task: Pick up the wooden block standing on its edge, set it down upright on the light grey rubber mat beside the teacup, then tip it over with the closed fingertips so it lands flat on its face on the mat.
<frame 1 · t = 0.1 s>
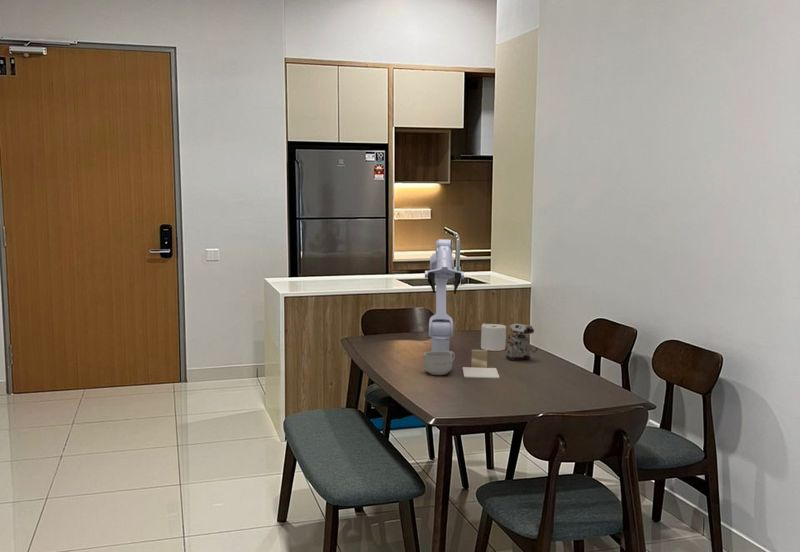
hand: (444, 291, 281), 32 cm above the table, tool tilted 50°, fingers open, 7 cm apart
toilet tissue: (491, 348, 335), on the table
wooden block: (478, 367, 300), on the table
figurine: (520, 360, 314), on the table
mat: (480, 373, 292), on the table
teacup: (441, 373, 291), on the table
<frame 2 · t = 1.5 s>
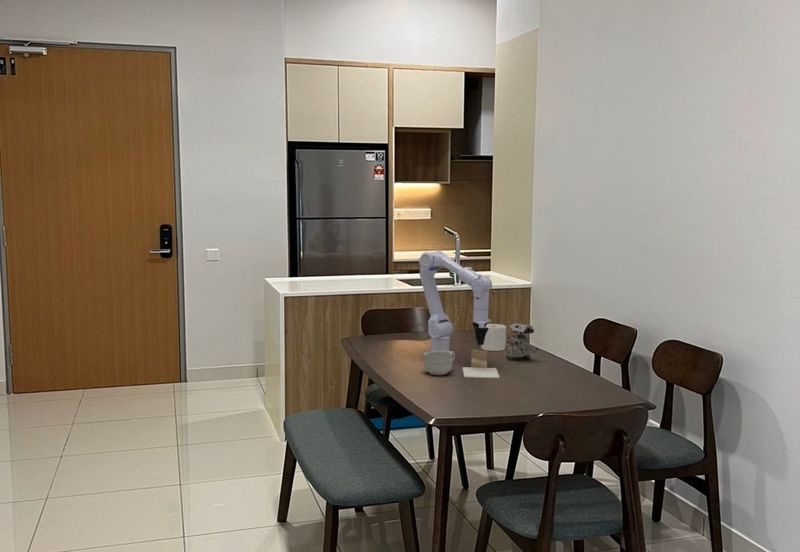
hand: (479, 342, 299), 10 cm above the table, tool pointing down, fingers open, 7 cm apart
nothing on the table moved.
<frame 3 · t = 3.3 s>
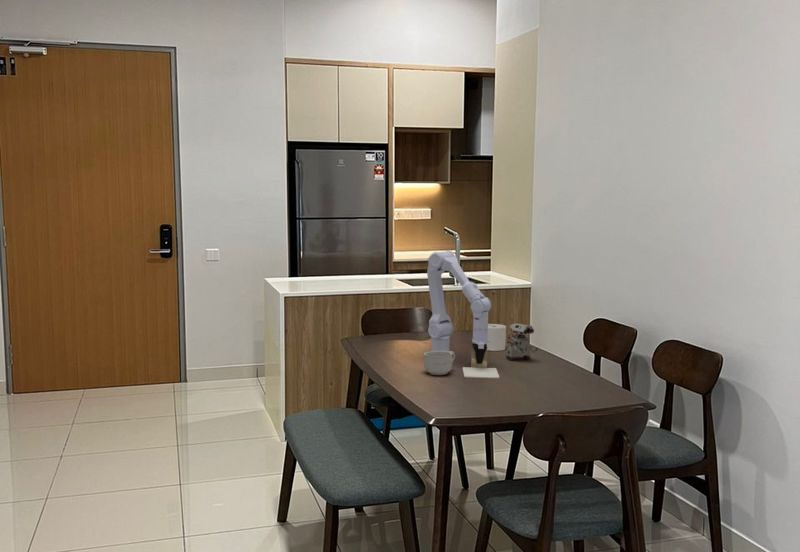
hand: (479, 362, 300), 2 cm above the table, tool pointing down, fingers closed on wooden block, 2 cm apart
wooden block: (478, 367, 300), on the table, touching gripper
everything else where it was.
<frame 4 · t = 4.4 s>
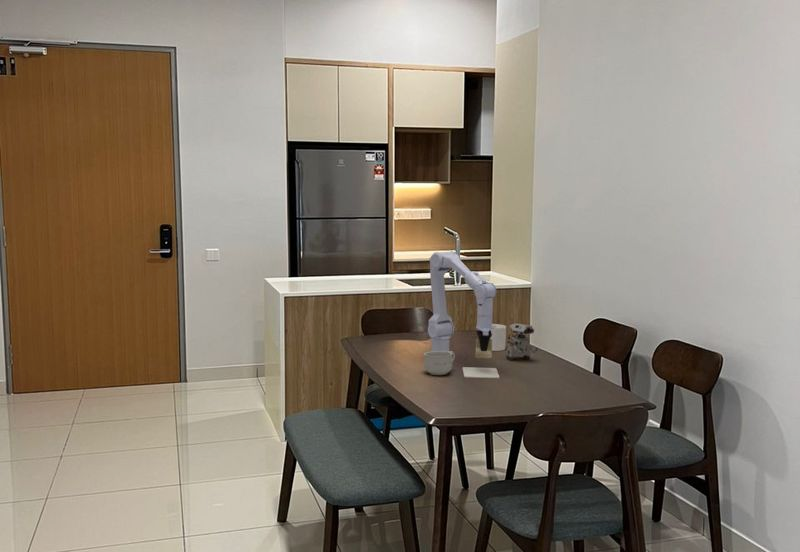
hand: (483, 350, 293), 8 cm above the table, tool pointing down, fingers closed on wooden block
wooden block: (483, 357, 293), point 6 cm above the table, touching gripper
everything else where it was.
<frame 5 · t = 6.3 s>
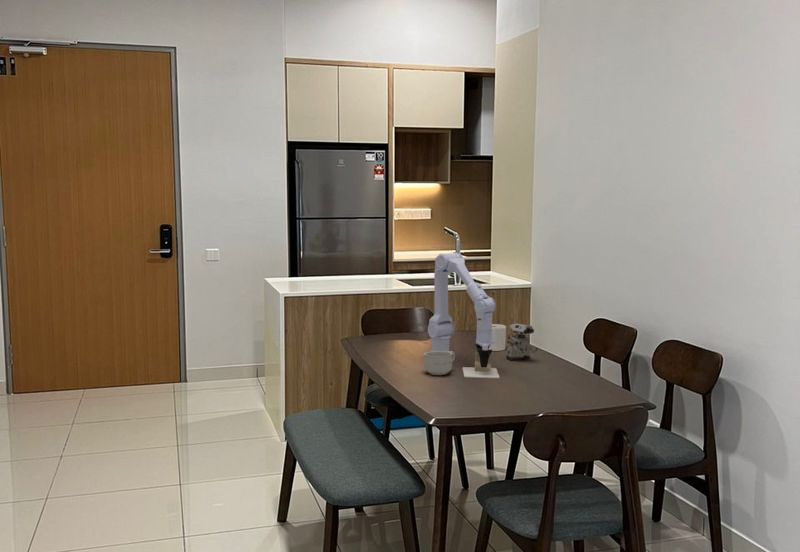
hand: (483, 364, 293), 3 cm above the table, tool pointing down, fingers open, 7 cm apart
wooden block: (482, 370, 294), resting on mat
everything else where it was.
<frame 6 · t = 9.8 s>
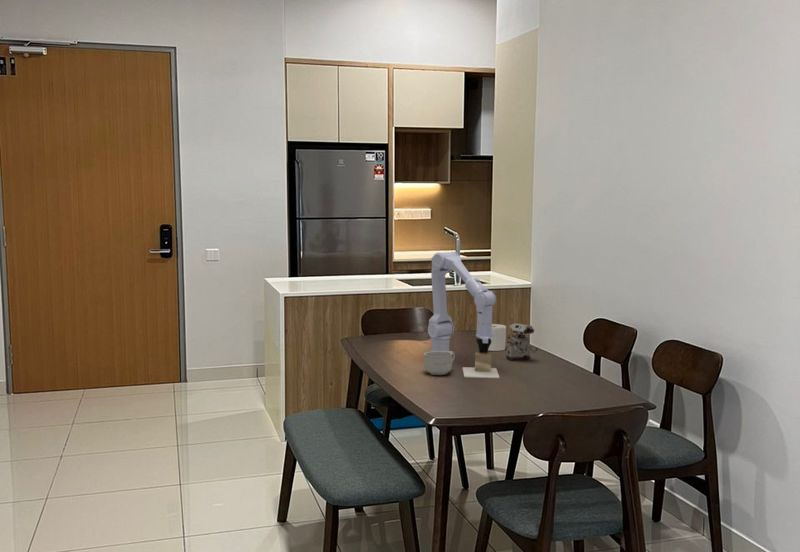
hand: (483, 357, 294), 5 cm above the table, tool pointing down, fingers closed
wooden block: (482, 370, 294), point 1 cm above the table, tilted 10°, touching mat
everything else where it was.
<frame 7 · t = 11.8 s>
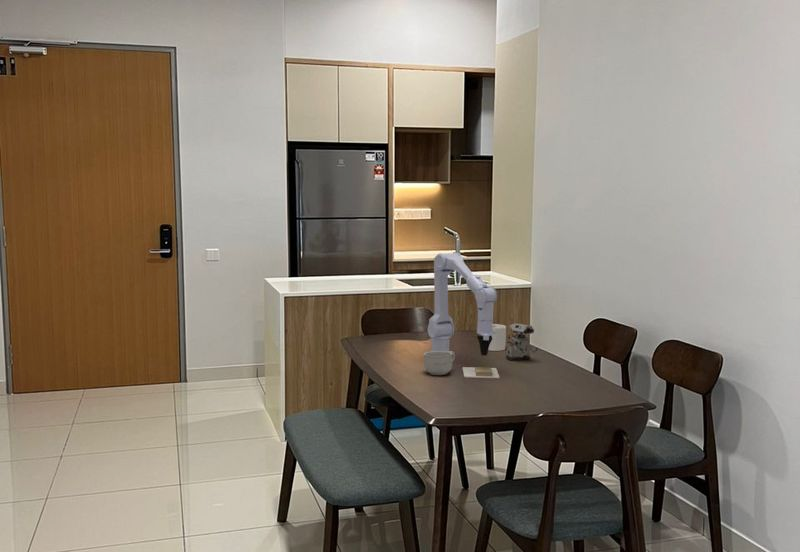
hand: (483, 355, 290), 7 cm above the table, tool pointing down, fingers closed
wooden block: (482, 369, 293), point 1 cm above the table, tilted 90°, touching mat
everything else where it was.
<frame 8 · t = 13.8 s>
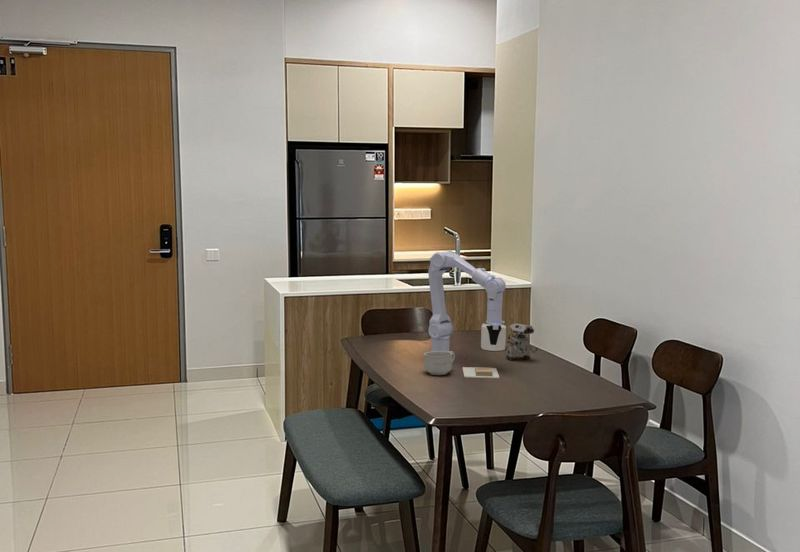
hand: (493, 344, 296), 10 cm above the table, tool pointing down, fingers closed
nothing on the table moved.
at the end: wooden block tilted 90°; wooden block inside the target area (1.7 cm from its centre), point 1.2 cm above the table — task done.
